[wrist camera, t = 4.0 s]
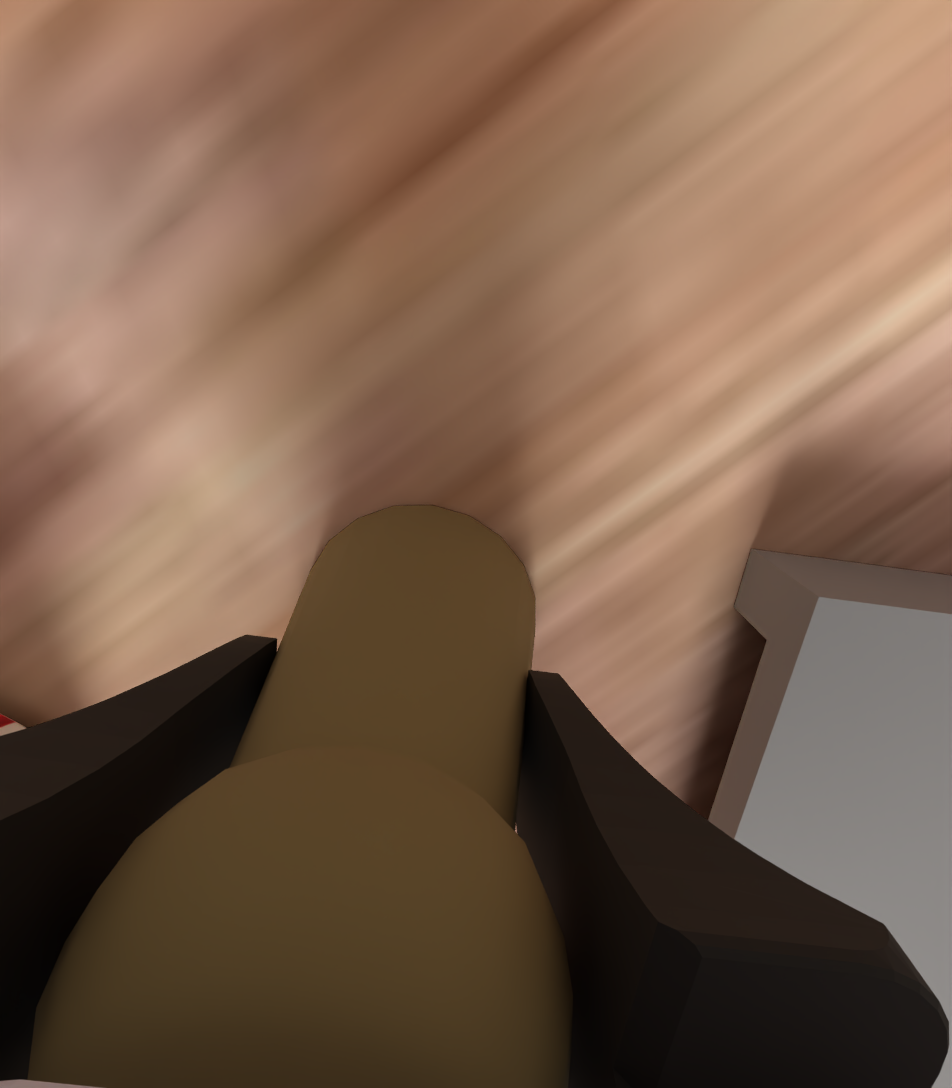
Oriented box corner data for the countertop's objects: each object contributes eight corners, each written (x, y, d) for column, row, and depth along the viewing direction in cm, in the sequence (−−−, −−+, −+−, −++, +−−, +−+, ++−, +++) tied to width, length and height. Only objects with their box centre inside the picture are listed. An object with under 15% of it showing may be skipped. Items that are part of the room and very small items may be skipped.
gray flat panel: (950, 1053, 20) (1028, 1170, 17) (610, 1017, 19) (632, 1130, 17) (1210, 609, 15) (1388, 671, 12) (751, 548, 14) (819, 596, 11)
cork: (274, 527, 14) (-323, 1017, 4) (515, 483, 14) (614, 898, 3) (338, 731, 16) (60, 1440, 6) (552, 697, 16) (689, 1401, 5)
